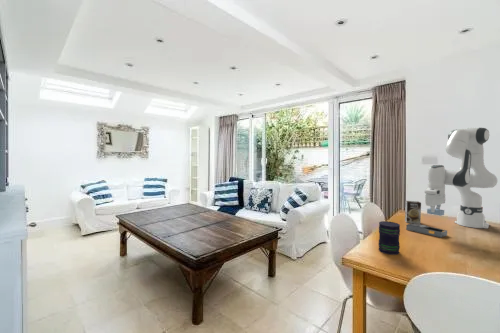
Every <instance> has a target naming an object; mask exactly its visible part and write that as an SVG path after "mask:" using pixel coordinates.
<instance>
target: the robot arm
mask: <svg viewBox="0 0 500 333" xmlns="http://www.w3.org/2000/svg"><path fill="white" fill-rule="evenodd" d="M489 138H490V131H489V129H487V128H486V127H468V128H461V129H453V130H451V131H450V132H449V133H448V136H447V139H448V140H447V142H446V145H445V151H446V153H447V154H448V155H449V156H450V157H452V158H455V159H458V160H460V167H459V169H458V170H457V169H456V170H451V169H449V170H448V169H446V168H445V166H444V165H442V164H433V165H431V166H429V169H428V172H427V173H428V175H427V180H428V183H427V188H426V189H425V190H424V194H425V196H424V198H425V201H424V202H425V206H428V207H429V208H431V212H435V211H436V210H435V209H440V210H441V207H442V205H443V204H445V203H446V186H453V187H455V188H456V189H457V190H458V192H459V195H460V200H461V201H460V203H461V204H460V207H459V211H458V212H457V216H456V220H455V221H454V223H455V224H457V225H459V226H462V227H463V226H464V227H467V228H474V229H489V227H490V223H488V222H487V221H486V216H485V215H484V213H483V206H482V202H483V198H482V196H481V194H479V193H477V192H475V191H473V190H472V189H471V188H476V189H477V188H478V189H479V188H480V189H489V188H494V187H496V186H497V185H498V178H497V176H496V175H495V174H494V173H492V172H490V171H489V170H488V168H487V167H486V165H485V163H484V161H485V160H484V153H485V152H484V151H485V150H484V149H485V148H484V144H485V143H486V142H487V141H488V140H489ZM471 169H472V172H471Z"/></svg>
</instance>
